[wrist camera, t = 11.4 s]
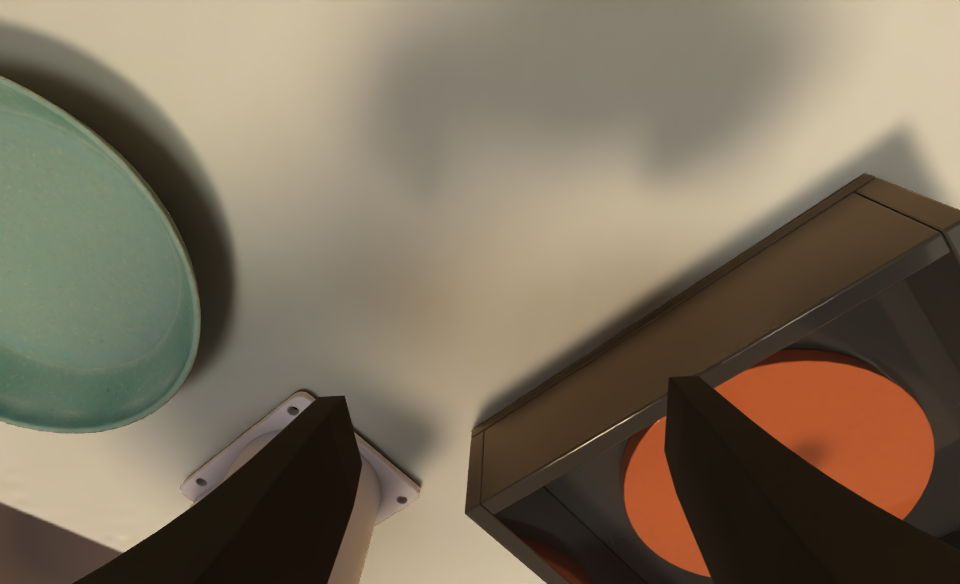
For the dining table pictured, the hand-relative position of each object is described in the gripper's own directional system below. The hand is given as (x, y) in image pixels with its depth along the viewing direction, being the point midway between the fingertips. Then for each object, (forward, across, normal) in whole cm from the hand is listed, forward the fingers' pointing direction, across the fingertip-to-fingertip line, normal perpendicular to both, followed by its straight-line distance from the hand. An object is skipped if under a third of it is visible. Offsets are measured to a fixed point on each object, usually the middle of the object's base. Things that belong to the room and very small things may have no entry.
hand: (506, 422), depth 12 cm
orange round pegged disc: (+9, -11, +11) cm, 18 cm away
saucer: (+10, +18, -2) cm, 21 cm away
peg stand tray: (+10, -11, +11) cm, 19 cm away
